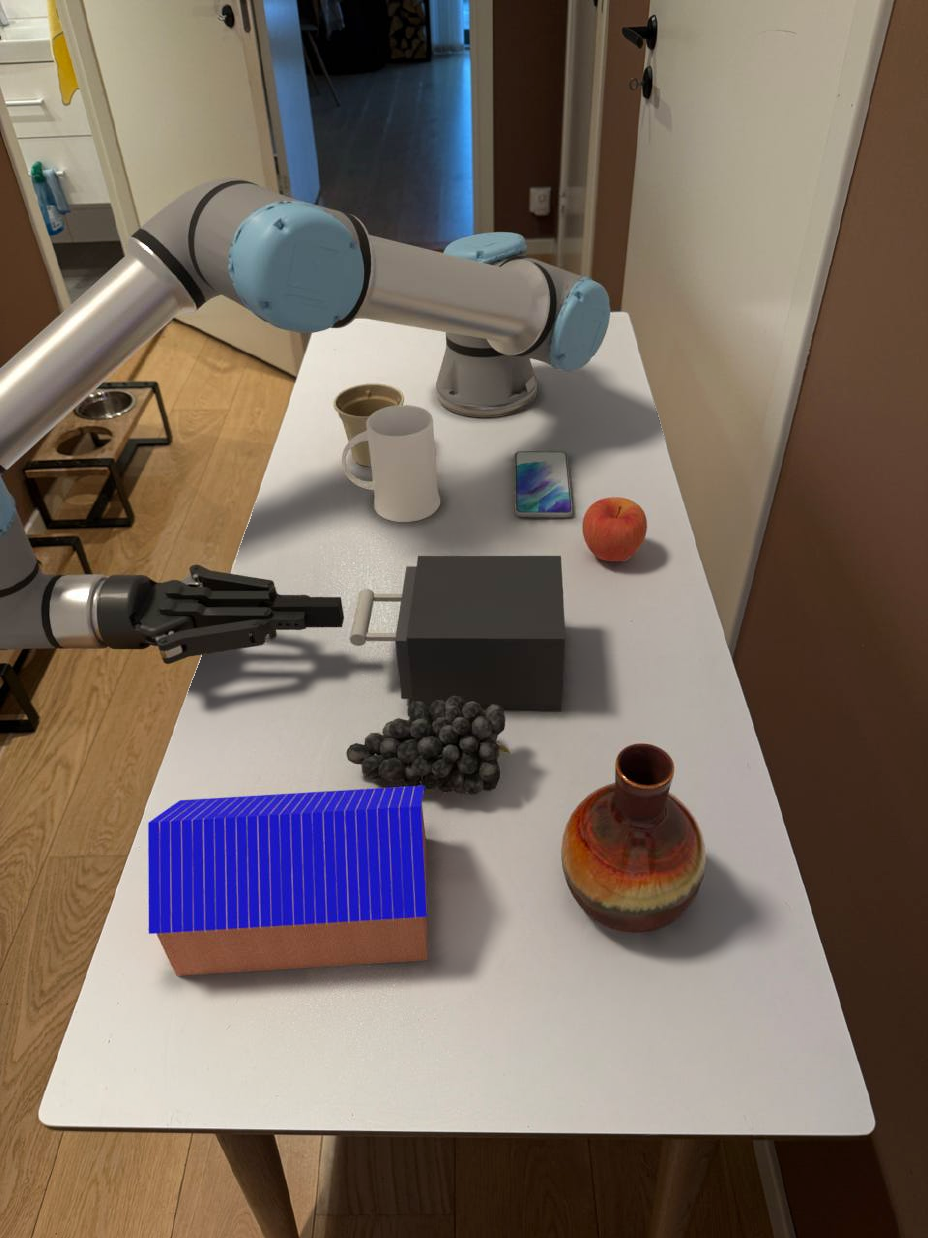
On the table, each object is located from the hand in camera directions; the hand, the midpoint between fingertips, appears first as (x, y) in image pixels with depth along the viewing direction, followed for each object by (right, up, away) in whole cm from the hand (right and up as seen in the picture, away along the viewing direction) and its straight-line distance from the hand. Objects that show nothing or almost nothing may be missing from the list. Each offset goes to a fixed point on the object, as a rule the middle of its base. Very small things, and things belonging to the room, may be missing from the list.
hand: (341, 612), depth 92 cm
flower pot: (0, +22, +37) cm, 43 cm away
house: (0, -24, -16) cm, 29 cm away
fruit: (+9, -15, -6) cm, 19 cm away
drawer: (+11, -5, +3) cm, 12 cm away
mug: (+3, +14, +27) cm, 31 cm away
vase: (+26, -23, -16) cm, 38 cm away
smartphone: (+22, +17, +29) cm, 40 cm away
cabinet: (+15, -6, +4) cm, 16 cm away
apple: (+30, +7, +18) cm, 35 cm away
